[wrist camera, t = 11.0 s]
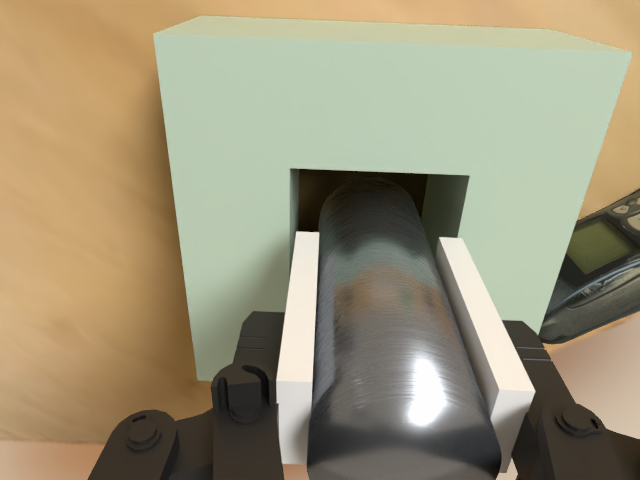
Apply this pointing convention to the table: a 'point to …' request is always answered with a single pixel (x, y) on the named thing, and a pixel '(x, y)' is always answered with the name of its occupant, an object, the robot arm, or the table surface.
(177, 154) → the guide block
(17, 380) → the table surface
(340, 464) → the long pin
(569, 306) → the mobile phone
